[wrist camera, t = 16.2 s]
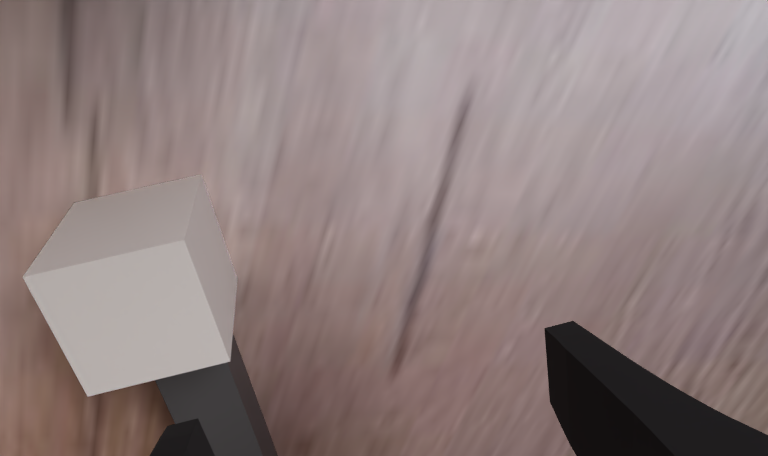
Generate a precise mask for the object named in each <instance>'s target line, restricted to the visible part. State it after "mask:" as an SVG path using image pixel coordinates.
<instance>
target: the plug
mask: <svg viewBox="0 0 768 456" xmlns="http://www.w3.org/2000/svg"><path fill="white" fill-rule="evenodd" d="M23 279H24V281H25V283H26V284H27V286H28V288H29V290H30V292H31V294H32V295H33V297H34V299H35V301H36V303H37V305H38V306H39V308H40V310H41V312H42V314H43V316H44V317H45V319H46V321H47V323H48V325H49V327H50V328H51V330H52V332H53V334H54V336H55V338H56V339H57V341H58V343H59V345H60V347H61V349H62V350H63V352H64V354H65V356H66V358H67V360H68V361H69V363H70V365H71V367H72V369H73V371H74V373H75V374H76V376H77V378H78V380H79V382H80V384H81V385H82V387H83V389H84V391H85V393H86V395H87V396H92V395H96V394H101V393H105V392H109V391H113V390H117V389H121V388H125V387H129V386H133V385H137V384H141V383H145V382H149V381H153V380H155V381H156V383H157V386H158V388H159V390H160V392H161V394H162V396H163V399H164V401H165V403H166V405H167V407H168V409H169V411H170V414H171V416H172V418H173V420H174V422H175V424H177V423H181V422H185V421H189V420H193V419H197V418H198V419H199V422H200V424H201V426H202V428H203V431H204V433H205V435H206V437H207V439H208V442H209V444H210V446H211V448H212V450H213V453H214V455H215V456H278V455H277V452H276V450H275V447H274V444H273V442H272V439H271V436H270V433H269V431H268V428H267V425H266V422H265V420H264V417H263V414H262V412H261V409H260V406H259V403H258V401H257V398H256V395H255V392H254V390H253V387H252V384H251V382H250V379H249V376H248V373H247V371H246V368H245V365H244V362H243V360H242V357H241V354H240V352H239V349H238V346H237V343H236V341H235V338H234V335H233V326H234V314H235V303H236V291H237V280H238V278H237V275H236V273H235V270H234V267H233V264H232V261H231V258H230V255H229V252H228V249H227V246H226V243H225V240H224V238H223V235H222V232H221V229H220V226H219V223H218V220H217V217H216V214H215V211H214V208H213V206H212V203H211V200H210V197H209V194H208V191H207V188H206V185H205V182H204V179H203V176H202V174H200V175H195V176H191V177H186V178H182V179H177V180H173V181H168V182H164V183H159V184H155V185H151V186H146V187H142V188H137V189H133V190H128V191H124V192H119V193H115V194H110V195H106V196H101V197H97V198H92V199H88V200H84V201H79V202H75V203H74V204H73V205H72V207H71V208H70V209H69V211H68V212H67V214H66V215H65V217H64V218H63V220H62V221H61V222H60V224H59V225H58V227H57V228H56V230H55V231H54V233H53V234H52V235H51V237H50V238H49V240H48V241H47V243H46V244H45V246H44V247H43V248H42V250H41V251H40V253H39V254H38V256H37V257H36V259H35V260H34V261H33V263H32V264H31V266H30V267H29V269H28V270H27V272H26V273H25V274H24V276H23Z"/></svg>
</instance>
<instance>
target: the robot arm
mask: <svg viewBox="0 0 768 456" xmlns="http://www.w3.org/2000/svg"><path fill="white" fill-rule="evenodd" d="M545 340H546V354H547V367H548V381H549V394H550V403H551V405H552V407H553V409H554V411H555V414H556V416H557V418H558V420H559V422H560V424H561V427H562V429H563V431H564V433H565V435H566V437H567V439H568V441H569V443H570V445H571V447H572V449H573V450H574V452H575V454H576V455H577V456H768V435H766V434H764V433H762V432H760V431H758V430H756V429H753V428H751V427H749V426H747V425H745V424H743V423H741V422H739V421H737V420H734V419H732V418H730V417H728V416H726V415H724V414H722V413H720V412H718V411H716V410H715V409H713V408H711V407H709V406H707V405H705V404H703V403H702V402H700V401H698V400H696V399H694V398H693V397H691V396H689V395H687V394H685V393H684V392H682V391H680V390H679V389H677V388H675V387H673V386H672V385H670V384H668V383H667V382H665V381H664V380H662V379H660V378H659V377H657V376H656V375H654V374H652V373H651V372H649V371H648V370H646V369H644V368H643V367H641V366H640V365H638V364H636V363H635V362H633V361H632V360H630V359H629V358H627V357H626V356H624V355H623V354H621V353H620V352H618V351H617V350H615V349H614V348H612V347H611V346H609V345H608V344H606V343H605V342H603V341H602V340H601V339H599V338H598V337H596V336H595V335H593V334H592V333H590V332H589V331H587V330H586V329H584V328H583V327H581V326H580V325H578V324H577V323H575V322H574V321H571V322H567V323H563V324H559V325H555V326H552V327H548V328H545ZM150 456H215V455H214V453H213V450H212V448H211V446H210V444H209V442H208V439H207V437H206V435H205V433H204V431H203V428H202V426H201V424H200V422H199V419H198V418H197V419H193V420H189V421H185V422H181V423H177V424H173V425H170V426H167V428H166V429H165V431H164V432H163V434H162V436H161V437H160V439H159V441H158V442H157V444H156V446H155V448H154V449H153V451H152V453H151V454H150Z"/></svg>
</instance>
